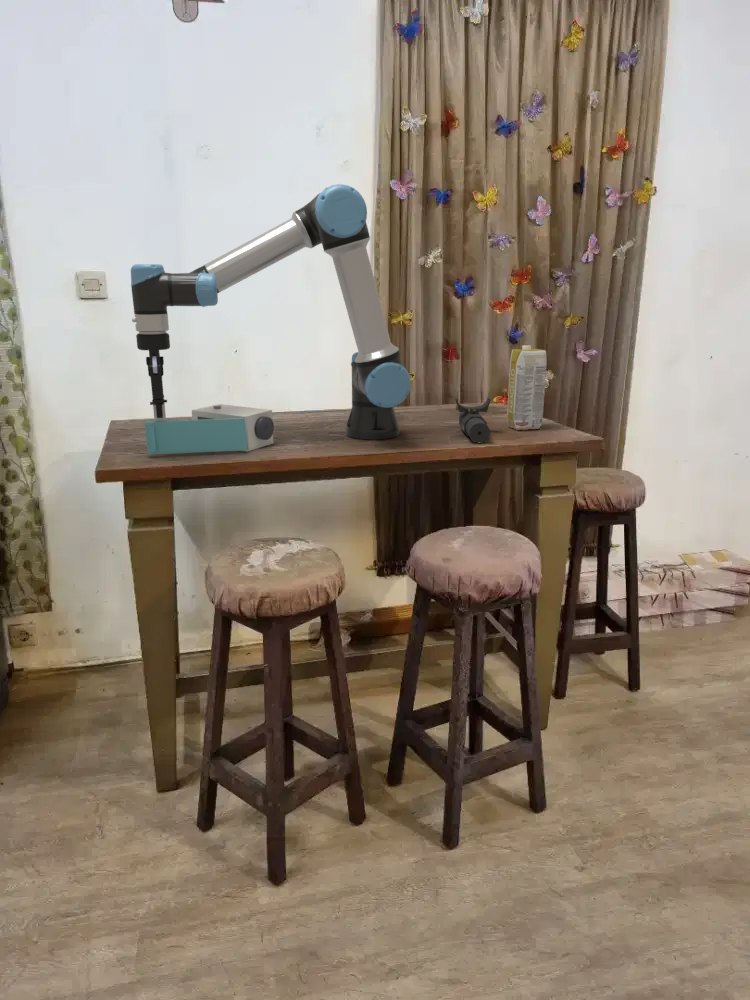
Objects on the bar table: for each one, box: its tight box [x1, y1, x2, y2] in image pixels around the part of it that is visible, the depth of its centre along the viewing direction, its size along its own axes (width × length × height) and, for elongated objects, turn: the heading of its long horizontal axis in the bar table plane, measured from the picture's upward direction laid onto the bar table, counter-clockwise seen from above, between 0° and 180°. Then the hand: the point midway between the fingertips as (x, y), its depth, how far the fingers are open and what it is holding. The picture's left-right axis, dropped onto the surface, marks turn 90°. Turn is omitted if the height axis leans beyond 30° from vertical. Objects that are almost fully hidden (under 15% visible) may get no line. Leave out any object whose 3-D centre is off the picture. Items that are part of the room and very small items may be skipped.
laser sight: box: [454, 396, 492, 443], centre depth 203 cm, size 10×22×10 cm, turn 1°
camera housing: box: [191, 403, 275, 453], centre depth 192 cm, size 20×11×10 cm, turn 60°
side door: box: [144, 418, 249, 455], centre depth 180 cm, size 24×2×8 cm, turn 102°
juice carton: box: [506, 344, 547, 428], centre depth 210 cm, size 9×8×24 cm
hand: (161, 430), depth 179 cm, fingers closed
